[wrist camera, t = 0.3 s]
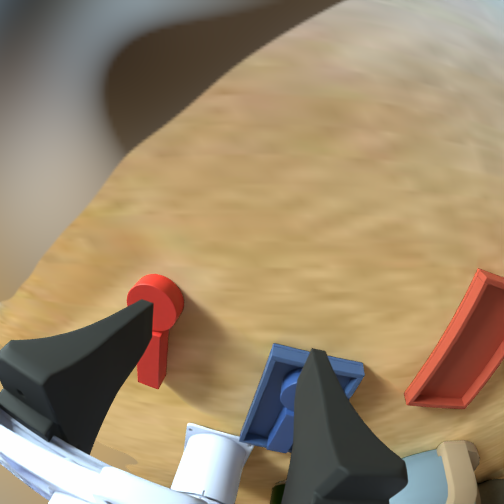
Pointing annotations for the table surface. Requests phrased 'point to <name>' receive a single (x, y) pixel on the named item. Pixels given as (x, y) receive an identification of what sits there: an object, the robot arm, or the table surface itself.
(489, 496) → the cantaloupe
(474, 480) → the alarm clock
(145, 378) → the red spoon
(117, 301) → the table surface
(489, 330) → the red tray
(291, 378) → the blue spoon
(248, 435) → the blue tray
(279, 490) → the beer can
